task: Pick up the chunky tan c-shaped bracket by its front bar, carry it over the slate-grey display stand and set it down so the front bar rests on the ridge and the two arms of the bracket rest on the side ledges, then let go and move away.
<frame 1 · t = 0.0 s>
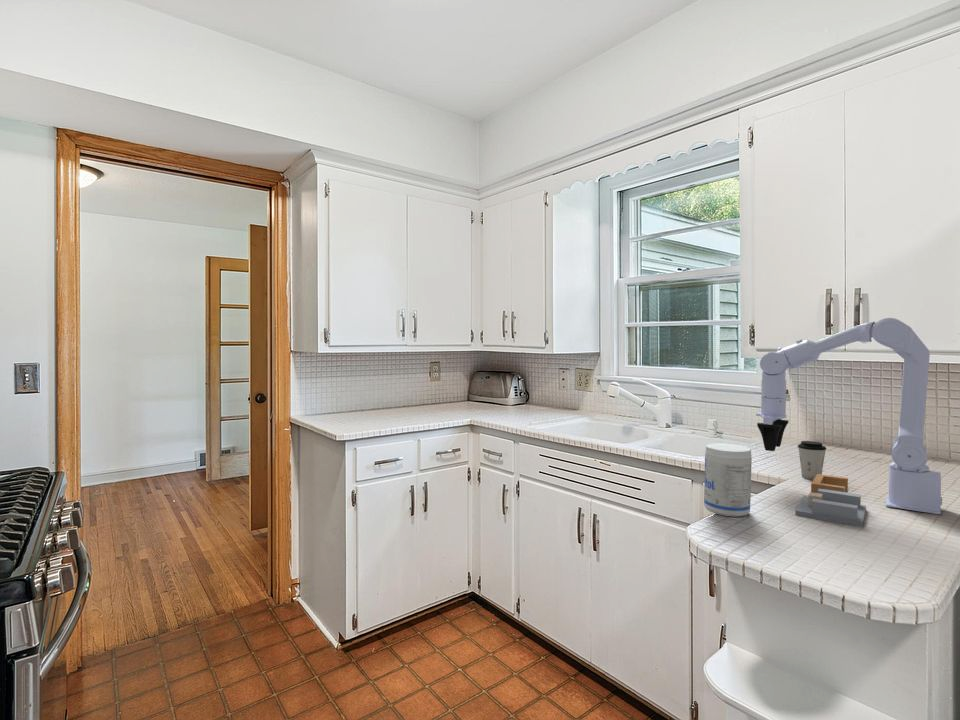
hand: (772, 448, 138), 10 cm above the worktop, tool pointing down, fingers open, 7 cm apart
tan c-shaped bracket: (817, 494, 130), on the worktop
supplement tub: (727, 512, 117), on the worktop
coffee cup: (811, 478, 147), on the worktop
display stand: (831, 512, 116), on the worktop
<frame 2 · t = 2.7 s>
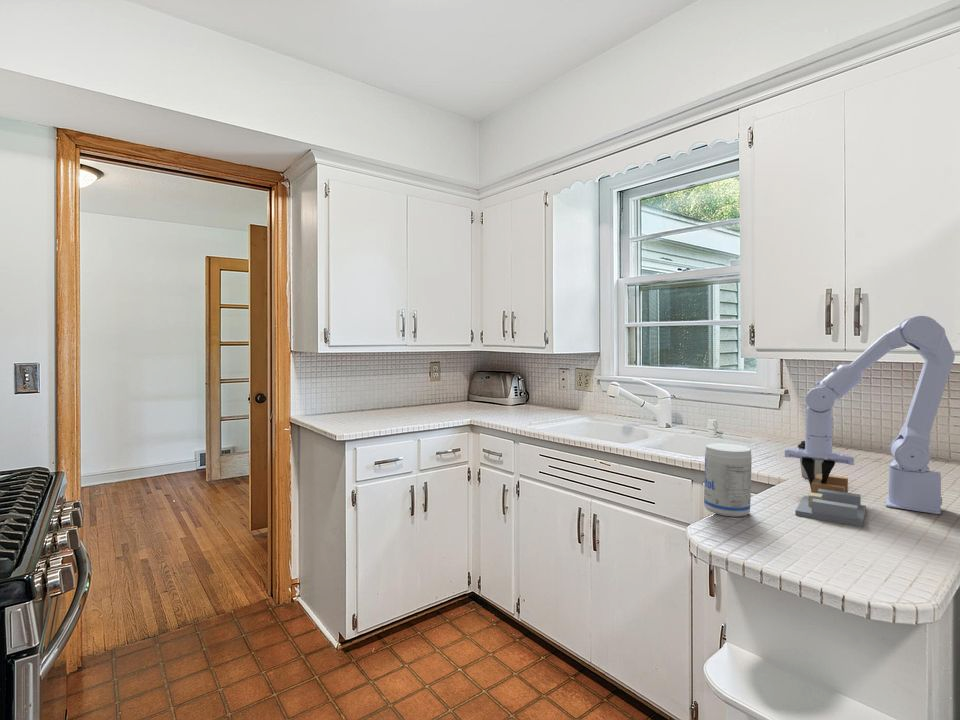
hand: (817, 489, 130), 1 cm above the worktop, tool pointing down, fingers closed on tan c-shaped bracket, 2 cm apart
tan c-shaped bracket: (817, 494, 130), on the worktop, touching gripper
everything else where it was.
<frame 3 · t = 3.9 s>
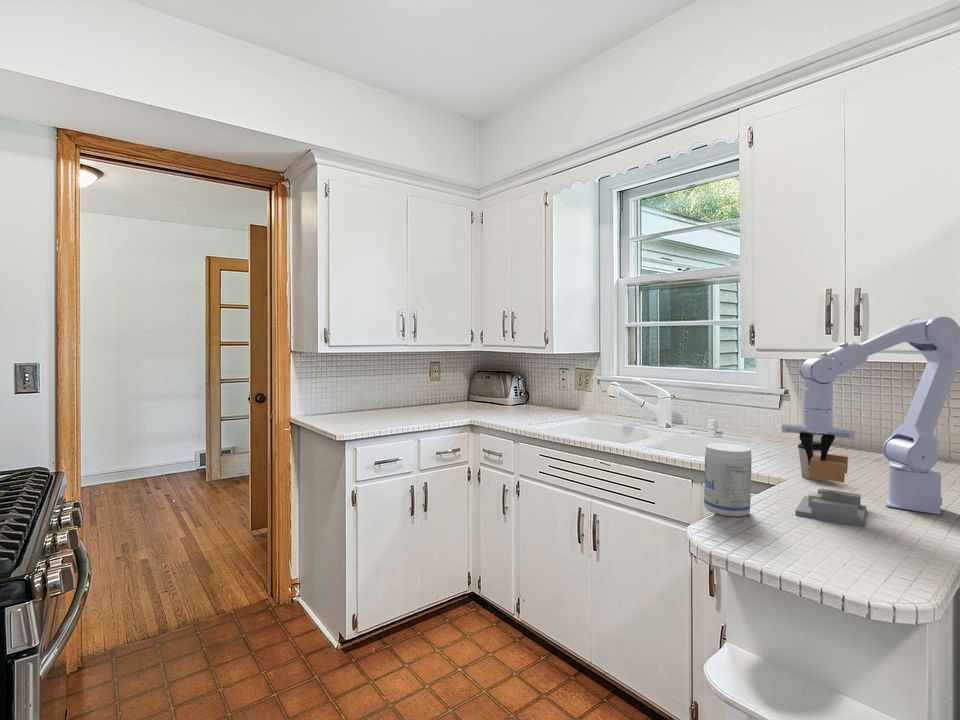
hand: (816, 465, 123), 9 cm above the worktop, tool pointing down, fingers closed on tan c-shaped bracket
tan c-shaped bracket: (816, 472, 123), point 7 cm above the worktop, touching gripper
everything else where it was.
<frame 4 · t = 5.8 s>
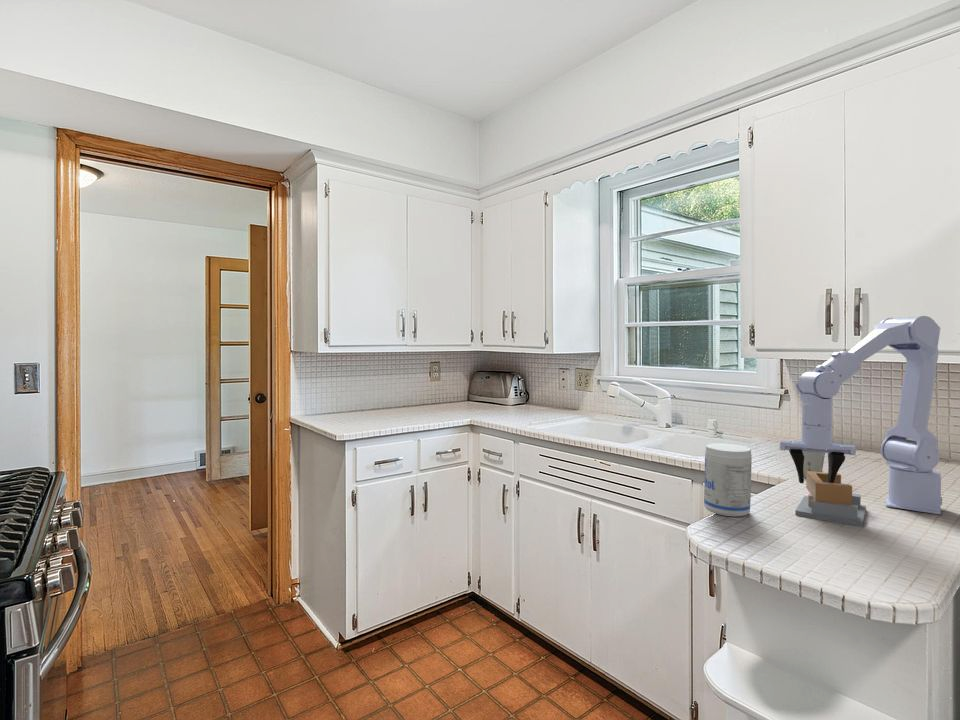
hand: (815, 483, 118), 6 cm above the worktop, tool pointing down, fingers open, 5 cm apart
tan c-shaped bracket: (814, 494, 118), point 3 cm above the worktop, touching display stand
everything else where it was.
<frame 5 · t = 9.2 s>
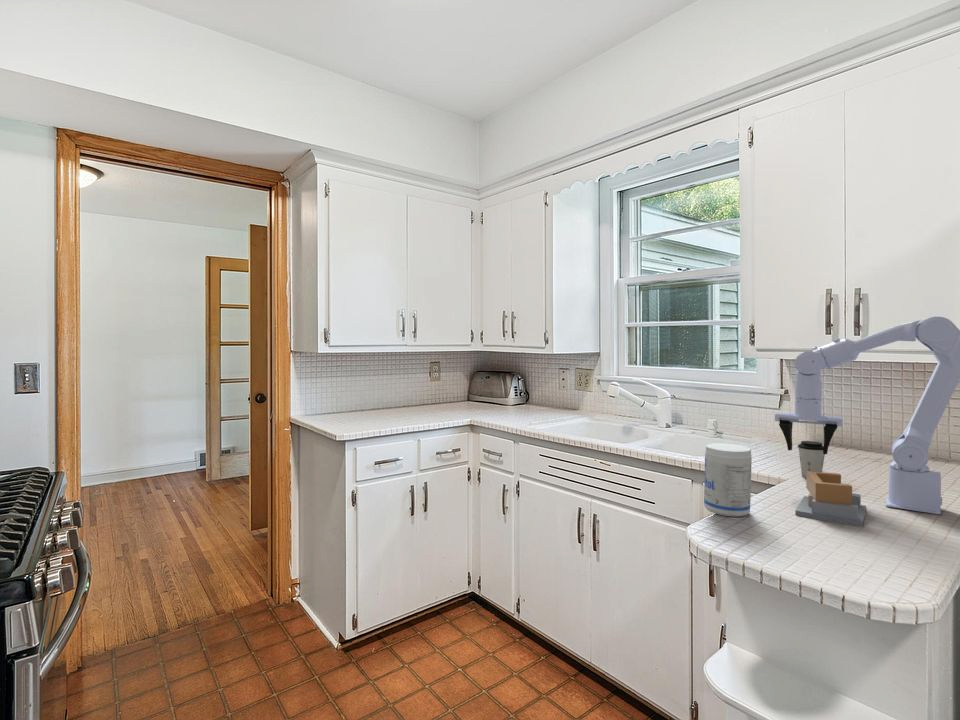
hand: (807, 451, 132), 10 cm above the worktop, tool pointing down, fingers open, 7 cm apart
nothing on the worktop moved.
at the end: tan c-shaped bracket 0.2 cm from the target spot on the display stand, point 3.5 cm above the display stand's base; tan c-shaped bracket tilted 0°; the gripper is holding nothing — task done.
